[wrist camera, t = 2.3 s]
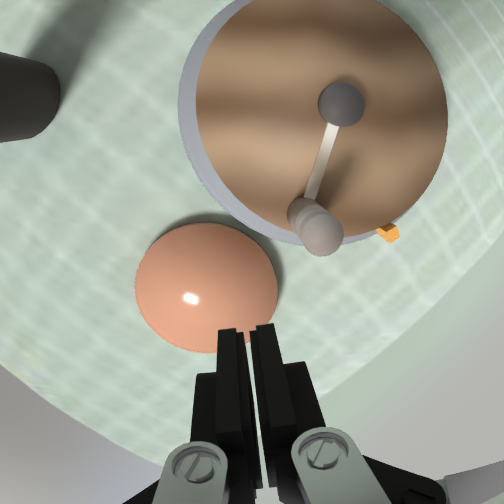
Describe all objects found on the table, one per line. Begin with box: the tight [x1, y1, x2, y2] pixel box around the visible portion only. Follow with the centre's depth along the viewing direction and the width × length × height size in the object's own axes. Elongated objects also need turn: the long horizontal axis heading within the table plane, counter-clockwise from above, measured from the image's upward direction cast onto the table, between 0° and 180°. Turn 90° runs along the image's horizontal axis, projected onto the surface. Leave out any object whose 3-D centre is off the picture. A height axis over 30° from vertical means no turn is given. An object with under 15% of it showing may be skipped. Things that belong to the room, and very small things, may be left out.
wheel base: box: [178, 0, 418, 246], centre depth 21 cm, size 22×22×3 cm
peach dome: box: [135, 222, 278, 353], centre depth 27 cm, size 12×12×1 cm
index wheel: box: [196, 0, 448, 256], centre depth 18 cm, size 19×19×7 cm
